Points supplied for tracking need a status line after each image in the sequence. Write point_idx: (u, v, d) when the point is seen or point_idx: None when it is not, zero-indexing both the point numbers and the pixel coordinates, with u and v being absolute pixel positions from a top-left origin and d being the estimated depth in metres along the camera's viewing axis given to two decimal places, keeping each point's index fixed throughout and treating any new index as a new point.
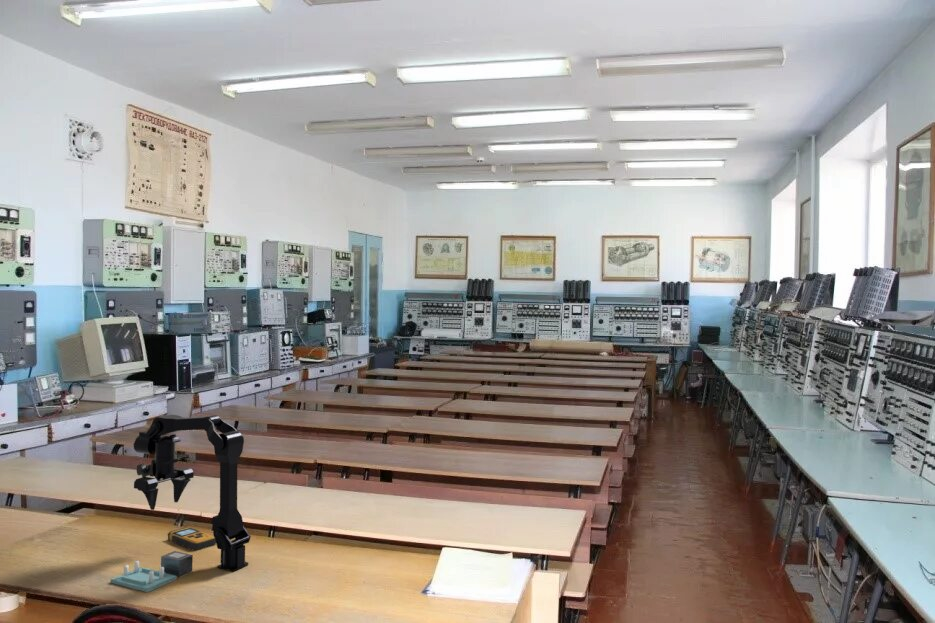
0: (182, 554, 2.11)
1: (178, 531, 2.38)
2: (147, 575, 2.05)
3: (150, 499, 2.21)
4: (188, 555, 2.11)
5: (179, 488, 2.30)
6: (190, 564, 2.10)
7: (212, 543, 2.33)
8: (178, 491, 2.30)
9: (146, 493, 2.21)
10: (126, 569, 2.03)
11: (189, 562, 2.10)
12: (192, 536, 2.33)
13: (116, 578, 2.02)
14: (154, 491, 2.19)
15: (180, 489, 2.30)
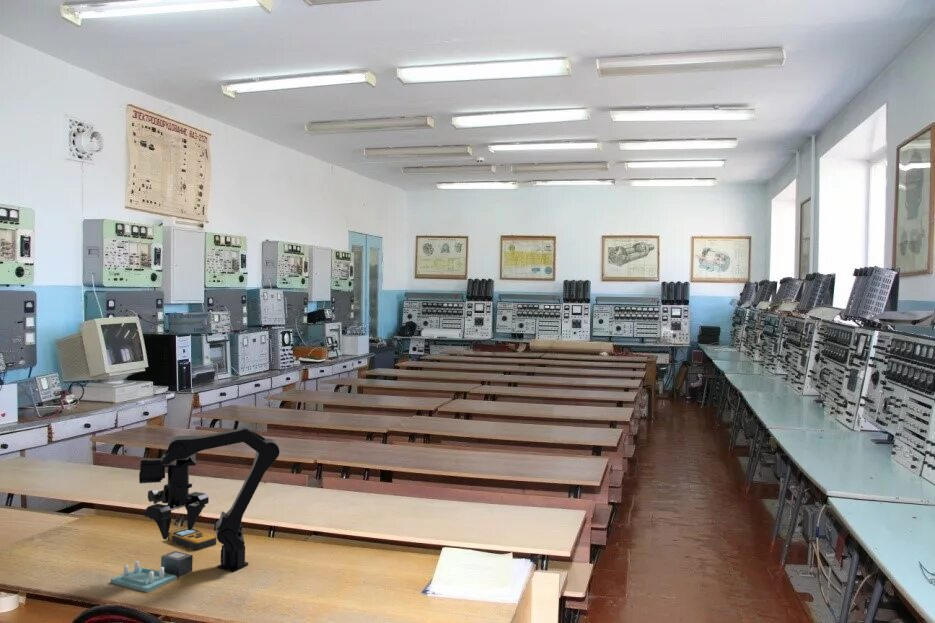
0: (182, 554, 2.11)
1: (178, 531, 2.38)
2: (147, 575, 2.05)
3: (163, 528, 2.05)
4: (188, 555, 2.11)
5: (193, 515, 2.14)
6: (190, 564, 2.10)
7: (212, 543, 2.33)
8: (192, 518, 2.14)
9: (158, 522, 2.05)
10: (126, 569, 2.03)
11: (189, 562, 2.10)
12: (192, 536, 2.33)
13: (116, 578, 2.02)
14: (167, 520, 2.03)
15: (194, 516, 2.14)
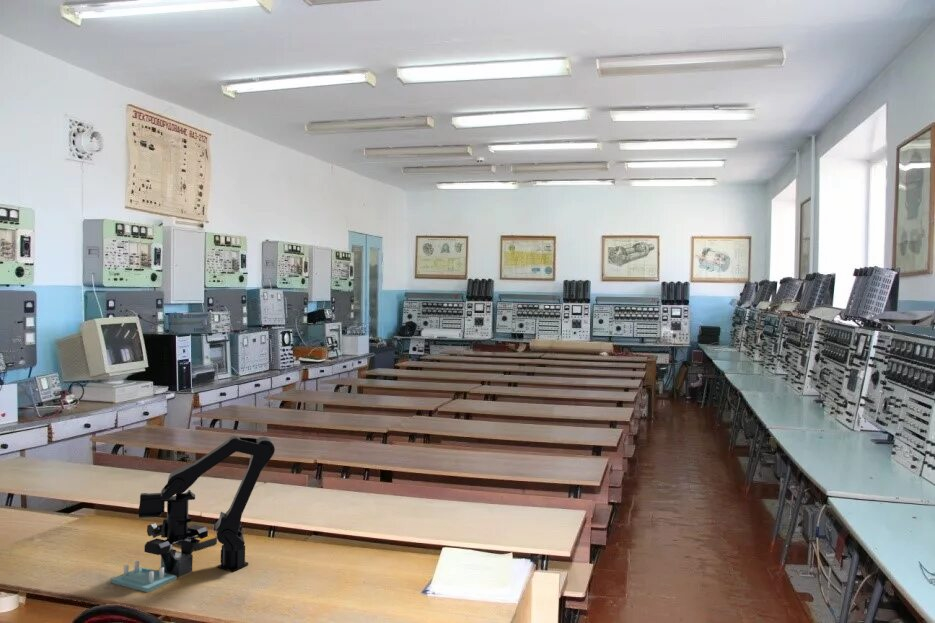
0: (182, 554, 2.11)
1: None
2: (147, 575, 2.05)
3: (167, 561, 2.07)
4: (188, 555, 2.11)
5: (187, 550, 2.12)
6: (190, 564, 2.10)
7: (213, 543, 2.33)
8: None
9: (163, 554, 2.07)
10: (126, 569, 2.03)
11: (189, 561, 2.10)
12: None
13: (116, 578, 2.02)
14: (172, 553, 2.05)
15: (188, 552, 2.12)
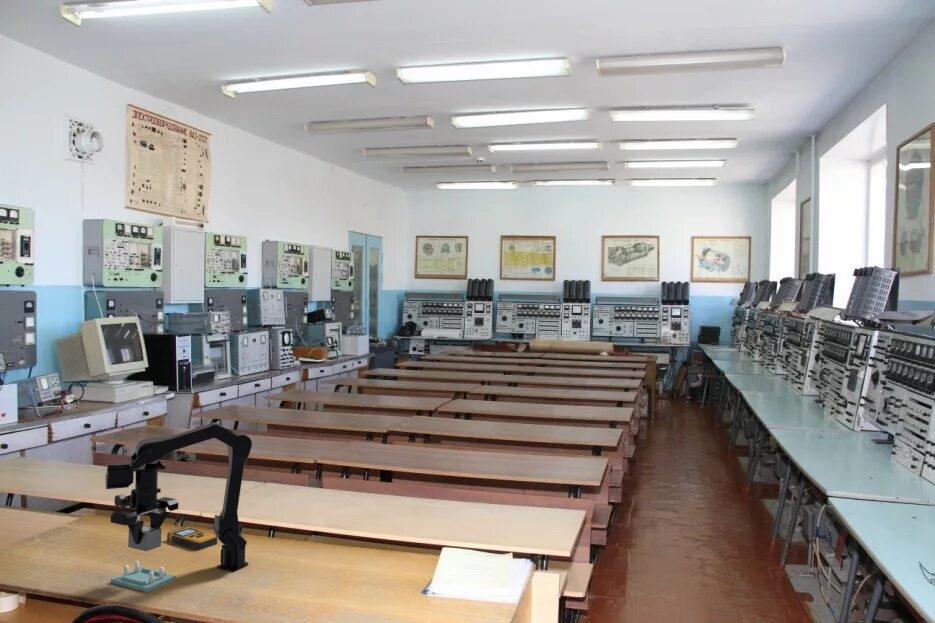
0: (151, 527, 2.04)
1: (178, 531, 2.38)
2: (147, 575, 2.05)
3: (134, 532, 2.00)
4: (157, 528, 2.04)
5: (156, 523, 2.05)
6: (159, 538, 2.04)
7: (214, 542, 2.34)
8: (155, 526, 2.05)
9: (130, 526, 2.00)
10: (126, 569, 2.03)
11: (157, 535, 2.03)
12: (193, 536, 2.33)
13: (116, 578, 2.02)
14: (139, 524, 1.98)
15: (157, 524, 2.05)
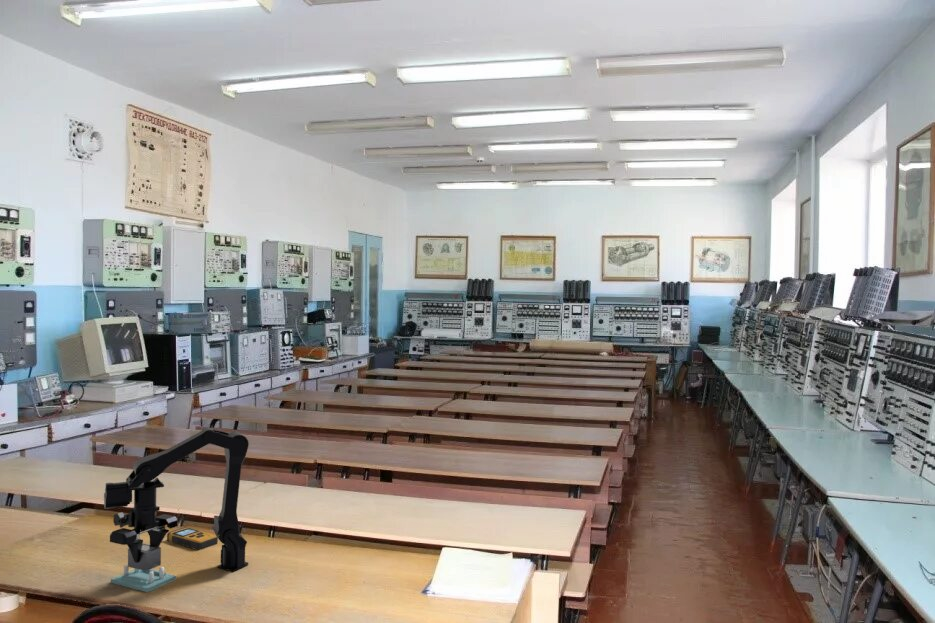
0: (150, 547, 2.04)
1: (178, 531, 2.38)
2: (147, 575, 2.05)
3: (134, 551, 2.00)
4: (156, 547, 2.04)
5: (156, 541, 2.05)
6: (158, 557, 2.03)
7: (214, 542, 2.34)
8: (155, 544, 2.05)
9: (129, 544, 2.00)
10: (126, 569, 2.03)
11: (157, 554, 2.03)
12: (193, 536, 2.34)
13: (116, 578, 2.02)
14: (138, 543, 1.98)
15: (157, 542, 2.05)
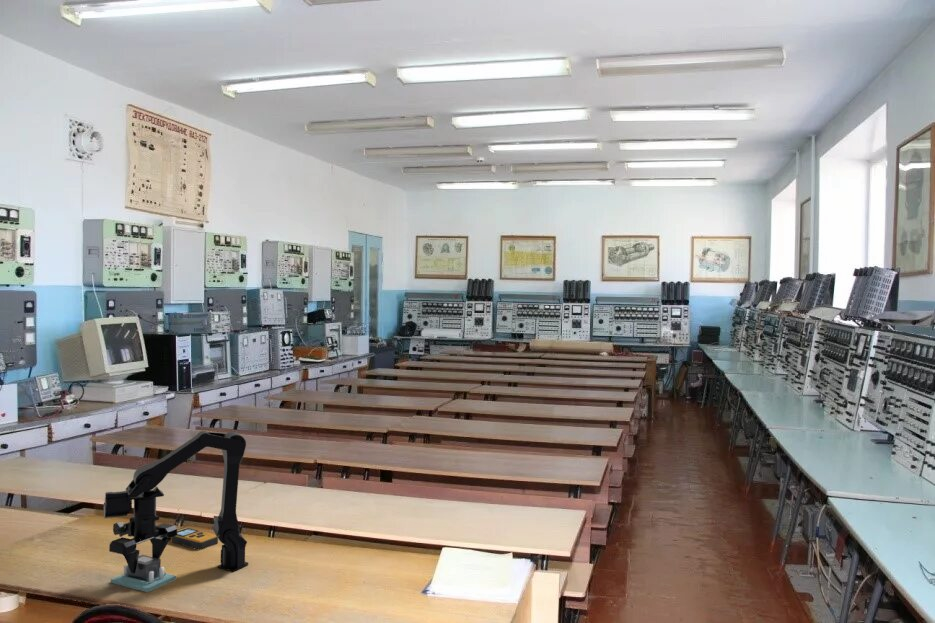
0: (150, 558, 2.04)
1: (177, 531, 2.37)
2: None
3: (130, 562, 1.99)
4: (156, 559, 2.04)
5: (158, 549, 2.06)
6: (158, 568, 2.04)
7: (214, 542, 2.34)
8: (157, 552, 2.06)
9: (126, 555, 1.99)
10: (126, 569, 2.03)
11: (156, 566, 2.03)
12: (194, 536, 2.34)
13: (116, 578, 2.02)
14: (135, 553, 1.97)
15: (159, 550, 2.06)
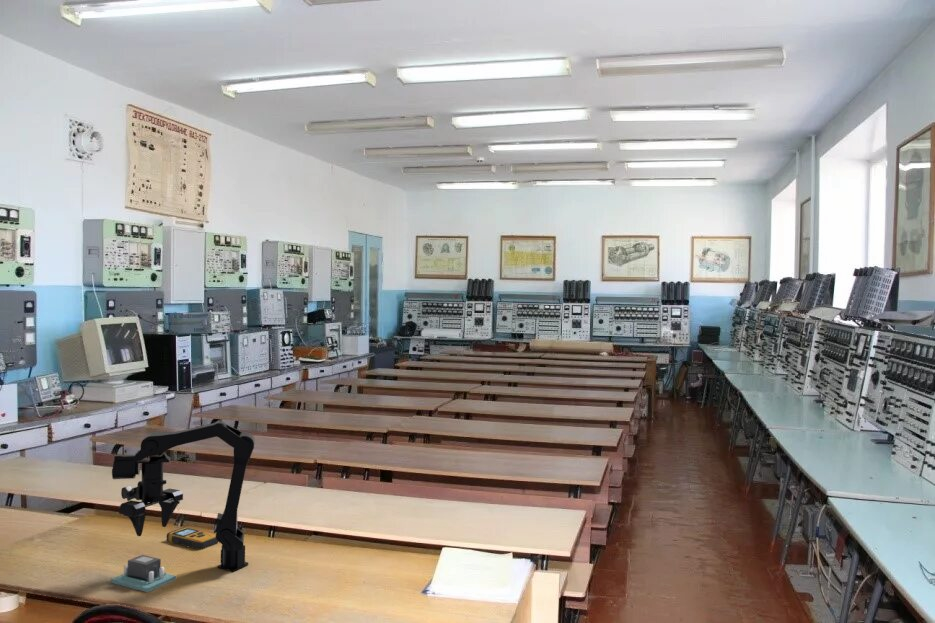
0: (150, 558, 2.04)
1: (177, 531, 2.37)
2: None
3: (137, 525, 2.04)
4: (156, 559, 2.04)
5: (167, 511, 2.14)
6: (158, 568, 2.04)
7: (215, 541, 2.34)
8: (166, 515, 2.14)
9: (132, 518, 2.04)
10: (126, 569, 2.03)
11: (156, 566, 2.03)
12: (194, 536, 2.34)
13: (116, 578, 2.02)
14: (141, 516, 2.02)
15: (169, 513, 2.13)
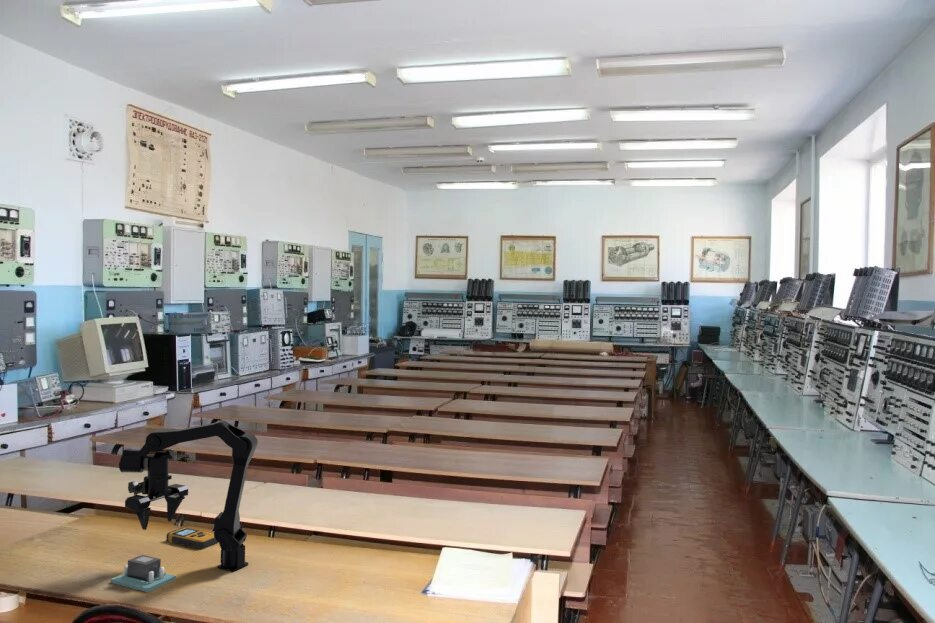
0: (150, 558, 2.04)
1: (177, 532, 2.37)
2: None
3: (142, 519, 2.09)
4: (156, 559, 2.04)
5: (173, 506, 2.18)
6: (158, 568, 2.04)
7: (216, 541, 2.35)
8: (172, 509, 2.18)
9: (138, 512, 2.09)
10: (126, 569, 2.03)
11: (156, 566, 2.03)
12: (194, 535, 2.34)
13: (116, 578, 2.02)
14: (146, 510, 2.07)
15: (174, 507, 2.18)
